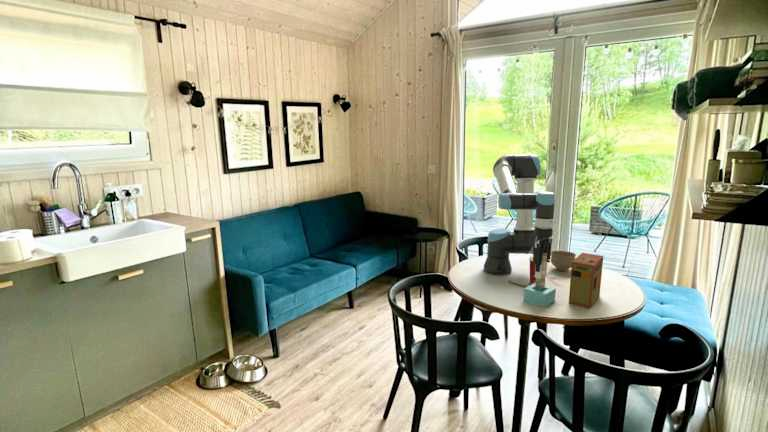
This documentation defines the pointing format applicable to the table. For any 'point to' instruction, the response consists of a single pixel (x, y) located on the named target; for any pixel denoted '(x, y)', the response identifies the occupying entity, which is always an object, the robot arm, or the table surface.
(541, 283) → the wooden dowel roller
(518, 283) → the brown wooden stick
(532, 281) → the paper cup
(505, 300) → the table surface
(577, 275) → the box
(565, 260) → the bowl
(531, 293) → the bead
